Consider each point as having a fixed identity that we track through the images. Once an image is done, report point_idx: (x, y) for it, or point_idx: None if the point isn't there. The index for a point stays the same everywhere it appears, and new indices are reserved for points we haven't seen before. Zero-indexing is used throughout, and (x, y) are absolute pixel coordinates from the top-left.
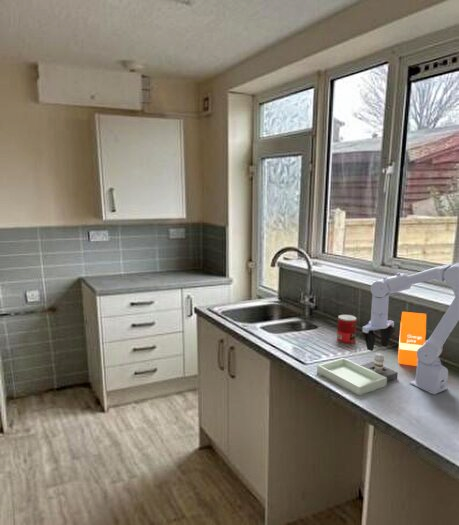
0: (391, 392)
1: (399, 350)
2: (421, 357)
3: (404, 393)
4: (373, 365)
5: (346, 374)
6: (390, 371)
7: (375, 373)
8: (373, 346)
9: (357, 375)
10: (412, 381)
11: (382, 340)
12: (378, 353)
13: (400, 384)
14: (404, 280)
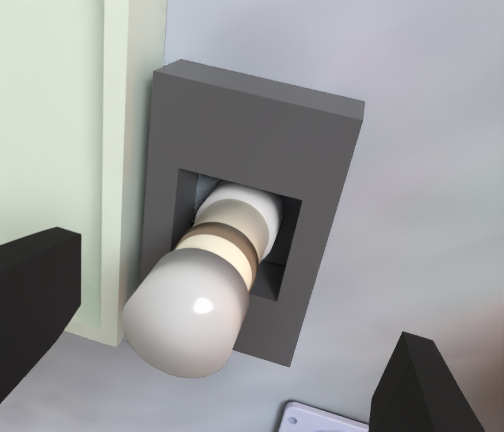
0: (102, 349)
1: None
2: None
3: (151, 398)
4: (265, 171)
5: (6, 21)
6: (262, 324)
7: (103, 267)
8: (23, 366)
9: (74, 104)
10: (312, 417)
11: (410, 418)
12: (200, 313)
13: (237, 361)
14: None
